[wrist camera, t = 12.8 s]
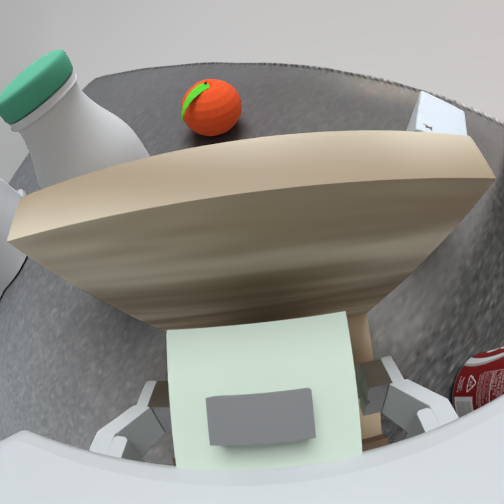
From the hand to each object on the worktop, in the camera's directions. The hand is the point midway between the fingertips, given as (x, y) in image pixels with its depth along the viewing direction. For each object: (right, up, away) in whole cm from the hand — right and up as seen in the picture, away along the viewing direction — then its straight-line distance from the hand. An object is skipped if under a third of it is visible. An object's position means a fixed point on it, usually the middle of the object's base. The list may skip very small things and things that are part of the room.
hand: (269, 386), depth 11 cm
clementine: (-5, +20, +22) cm, 30 cm away
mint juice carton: (+1, -4, +6) cm, 7 cm away
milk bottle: (-10, +6, +16) cm, 19 cm away
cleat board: (+1, -5, +9) cm, 10 cm away
